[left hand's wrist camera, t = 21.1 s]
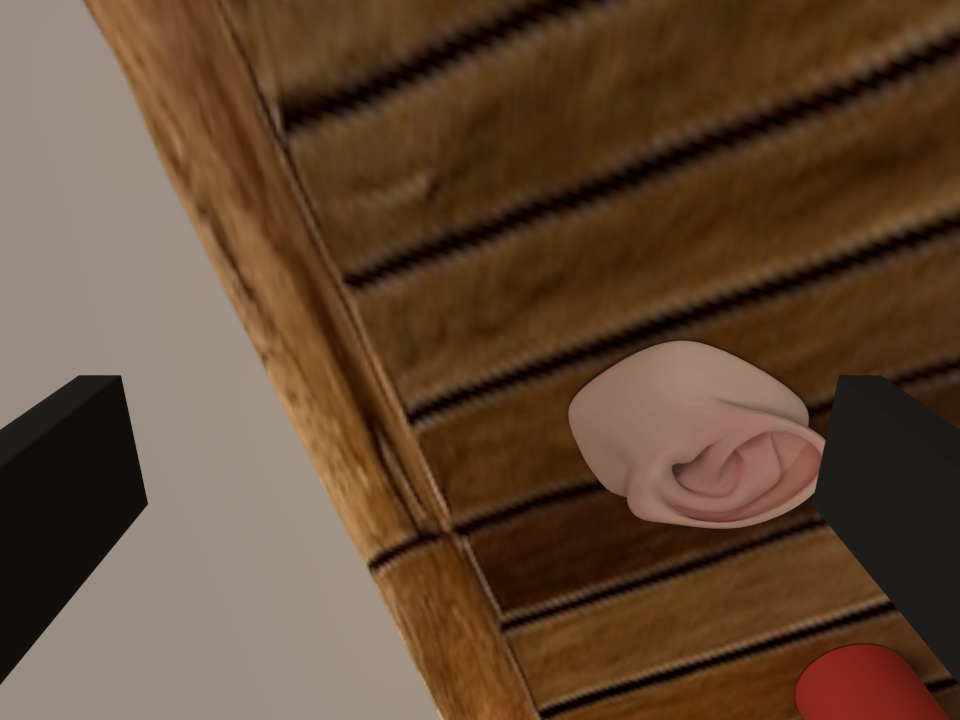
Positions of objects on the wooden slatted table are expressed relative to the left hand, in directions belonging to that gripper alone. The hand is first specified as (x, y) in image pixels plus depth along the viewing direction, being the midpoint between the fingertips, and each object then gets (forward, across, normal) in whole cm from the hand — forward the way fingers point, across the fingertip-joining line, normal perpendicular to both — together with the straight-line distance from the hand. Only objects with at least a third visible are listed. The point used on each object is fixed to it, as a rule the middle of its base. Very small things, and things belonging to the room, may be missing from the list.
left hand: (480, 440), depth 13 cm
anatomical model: (+25, +12, -12) cm, 30 cm away
